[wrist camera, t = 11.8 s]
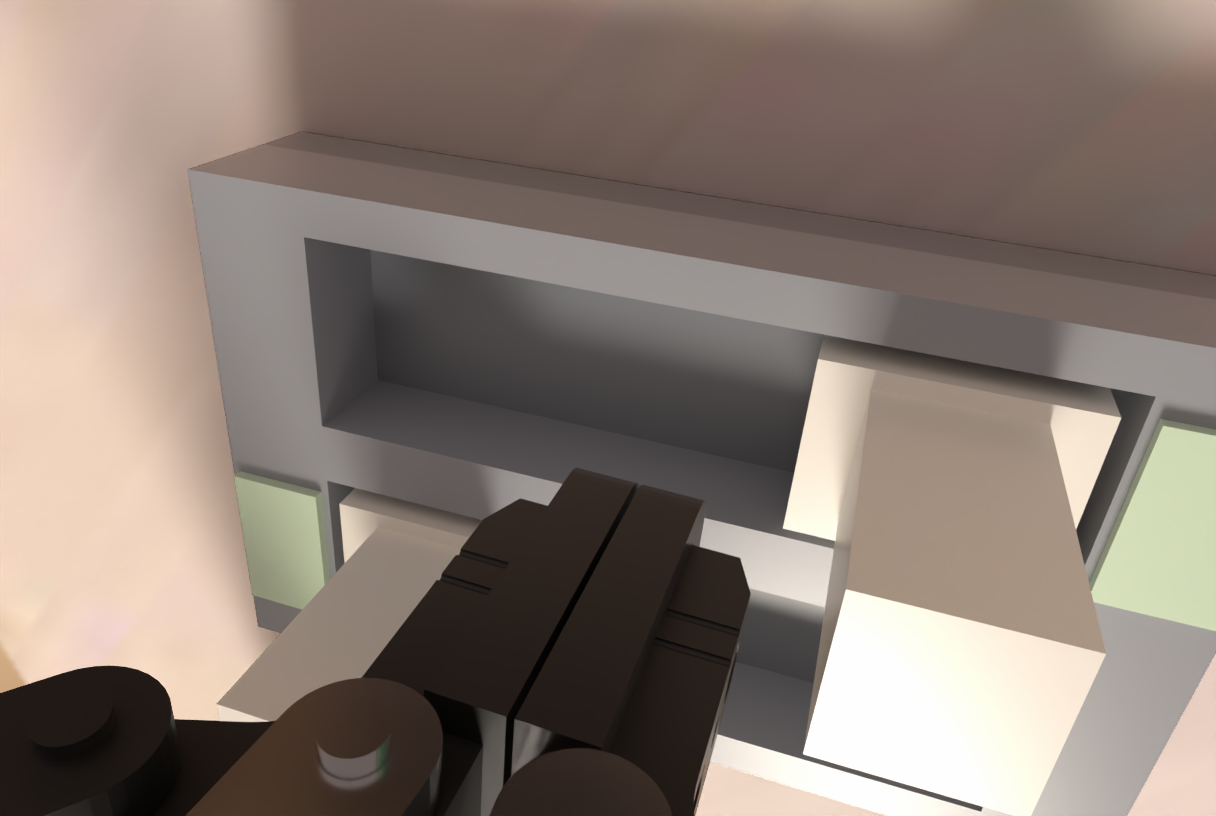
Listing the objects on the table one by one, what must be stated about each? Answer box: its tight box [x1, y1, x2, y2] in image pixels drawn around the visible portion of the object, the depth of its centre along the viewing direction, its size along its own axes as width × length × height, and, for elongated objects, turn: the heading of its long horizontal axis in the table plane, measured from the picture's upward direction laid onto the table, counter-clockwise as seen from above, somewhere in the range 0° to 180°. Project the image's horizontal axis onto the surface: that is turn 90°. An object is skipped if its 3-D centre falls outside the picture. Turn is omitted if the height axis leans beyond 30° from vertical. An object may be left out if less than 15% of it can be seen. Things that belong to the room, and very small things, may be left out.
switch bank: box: [188, 132, 1216, 816], centre depth 17 cm, size 17×10×3 cm, turn 86°
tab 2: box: [783, 335, 1121, 816], centre depth 12 cm, size 4×3×7 cm
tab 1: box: [217, 488, 482, 722], centre depth 16 cm, size 4×3×7 cm
